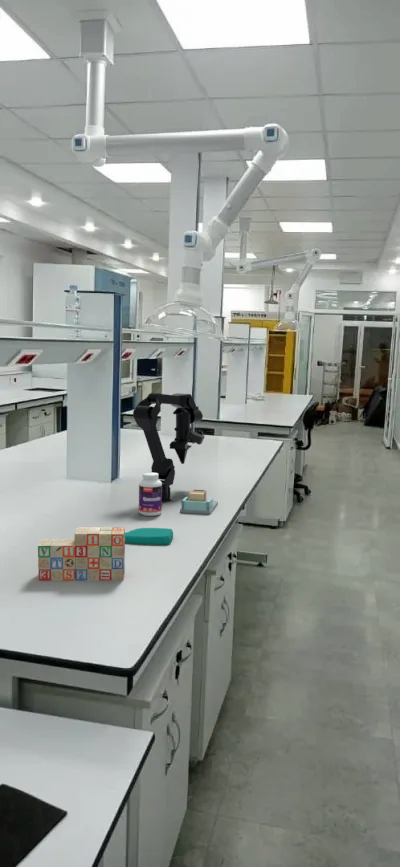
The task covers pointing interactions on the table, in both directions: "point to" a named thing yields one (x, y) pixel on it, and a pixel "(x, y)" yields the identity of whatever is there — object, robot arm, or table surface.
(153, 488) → the pill bottle
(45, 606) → the table surface
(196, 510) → the dock
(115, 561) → the stack of blocks
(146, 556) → the table surface
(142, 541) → the teal flat block
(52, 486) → the table surface
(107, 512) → the table surface
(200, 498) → the cardboard box with slot
